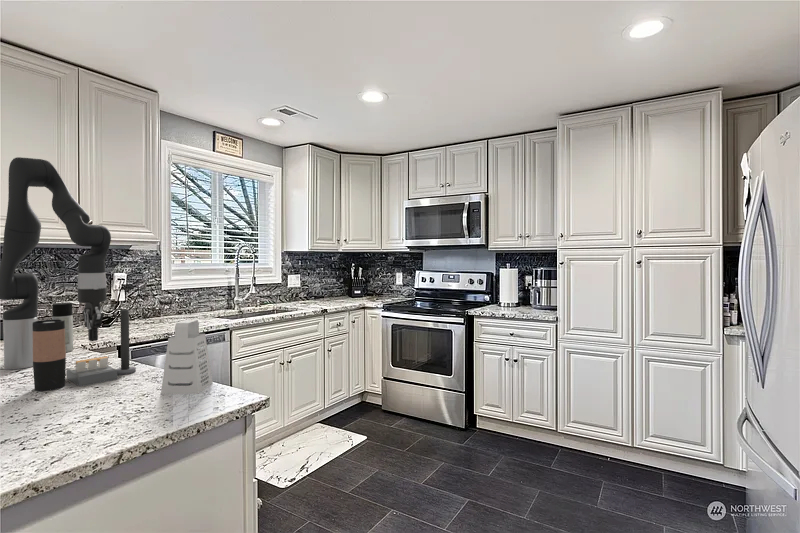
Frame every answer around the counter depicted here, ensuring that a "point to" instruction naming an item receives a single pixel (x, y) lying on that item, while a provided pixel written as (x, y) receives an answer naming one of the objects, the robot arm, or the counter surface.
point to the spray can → (65, 313)
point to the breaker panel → (91, 375)
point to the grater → (186, 360)
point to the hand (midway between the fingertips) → (93, 340)
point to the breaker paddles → (91, 363)
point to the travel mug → (49, 354)
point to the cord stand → (125, 345)
